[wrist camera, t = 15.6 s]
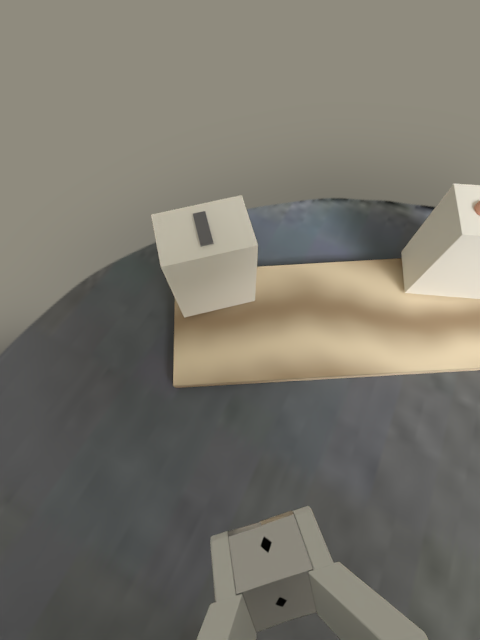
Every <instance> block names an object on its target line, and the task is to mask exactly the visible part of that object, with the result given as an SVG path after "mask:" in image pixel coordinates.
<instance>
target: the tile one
mask: <svg viewBox="0 0 480 640" xmlns="http://www.w3.org/2000/svg"><path fill="white" fill-rule="evenodd" d="M151 218H152V223H153V229H154V234H155V239H156V245H157V250H158V255H159V260H160V266H161V269H162V271H163V273H164V275H165V277H166V280H167V282H168V284H169V286H170V288H171V290H172V293H173V295H174V297H175V299H176V301H177V303H178V305H179V308H180V310H181V312H182V314H183V316H184V318H185V317H189V316H193V315H197V314H202V313H206V312H210V311H214V310H218V309H223V308H227V307H231V306H235V305H239V304H244V303H248V302H252V301H255V293H256V274H257V255H258V244H257V241H256V237H255V234H254V231H253V228H252V225H251V222H250V219H249V216H248V213H247V210H246V206H245V203H244V200H243V197H242V195H240V196H235V197H230V198H226V199H221V200H217V201H212V202H207V203H202V204H198V205H193V206H188V207H184V208H179V209H174V210H169V211H165V212H161V213H156V214H151Z"/></svg>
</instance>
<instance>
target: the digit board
mask: <svg viewBox="0 0 480 640" xmlns="http://www.w3.org/2000/svg"><path fill="white" fill-rule="evenodd" d="M472 370H480V299H472V298H460V297H447V296H435V295H423V294H411V293H405V290H404V278H403V267H402V258H399V259H382V260H364V261H347V262H330V263H312V264H295V265H278V266H260V267H257V274H256V293H255V301H252V302H248V303H244V304H239V305H235V306H231V307H227V308H223V309H218V310H214V311H210V312H206V313H202V314H197V315H193V316H189V317H185V318H184V316H183V314H182V312H181V310H180V308H179V305H178V303H177V301H176V299H175V316H174V369H173V386H174V387H175V388H182V387H199V386H216V385H233V384H250V383H268V382H285V381H302V380H319V379H336V378H353V377H370V376H387V375H404V374H421V373H438V372H455V371H472Z"/></svg>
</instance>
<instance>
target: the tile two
mask: <svg viewBox="0 0 480 640" xmlns="http://www.w3.org/2000/svg"><path fill="white" fill-rule="evenodd" d="M401 255H402V267H403V278H404V290H405V293H411V294H423V295H435V296H447V297H460V298H472V299H480V185H467V184H466V185H465V184H453V185H452V187H451V188H450V189H449V190H448V192H447V193H446V194H445V196H444V197H443V198H442V200H441V201H440V202H439V204H438V205H437V206H436V207H435V209H434V210H433V211H432V213H431V214H430V215H429V217H428V218H427V219H426V220H425V222H424V223H423V224H422V226H421V227H420V228H419V230H418V231H417V232H416V233H415V235H414V236H413V237H412V239H411V240H410V241H409V243H408V244H407V245H406V246H405V248H404V249H403V250H402V252H401Z"/></svg>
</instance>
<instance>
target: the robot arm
mask: <svg viewBox="0 0 480 640" xmlns="http://www.w3.org/2000/svg"><path fill="white" fill-rule="evenodd" d="M210 546H211V557H212V569H213V580H214V591H215V602H214V603H212V604H210V606H209V608H208V611H207V614H206V616H205V619H204V621H203V624H202V627H201V629H200V632H199V634H198V637H197V640H256V637H257V634H256V632H259V631H262V630H264V629H267V628H270V627H272V626H275V625H278V624H280V623H283V622H286V621H289V620H292V619H295V618H299V617H302V616H305V615H309V614H312V613H315V612H317V614H318V615H319V616H320V618H321V619H322V620H323V621H324V622H325V623H326V624H327V625H328V626H329V628H330V629H331V630H332V631H333V632H334V633H335V634H336V635H337V636H338V638H339V639H340V640H428V638H427V636H426V634H425V632H424V631H422V630H421V629H420V628H419V627H417V626H416V625H415V624H414V623H413V622H411V621H410V620H409V619H408V618H407V617H405V616H404V615H403V614H402V613H400V612H399V611H398V610H397V609H396V608H394V607H393V606H392V605H391V604H390V603H388V602H387V601H386V600H385V599H383V598H382V597H381V596H380V595H379V594H377V593H376V592H375V591H374V590H373V589H371V588H370V587H369V586H368V585H366V584H365V583H364V582H363V581H362V580H360V579H359V578H358V577H357V576H356V575H354V574H353V573H352V572H351V571H349V570H348V569H347V568H346V567H345V566H343V565H342V564H341V563H340V562H336V563H333V560H332V558H331V555H330V553H329V551H328V548H327V546H326V543H325V541H324V538H323V536H322V534H321V531H320V529H319V526H318V524H317V522H316V519H315V517H314V514H313V512H312V509H311V508H310V507H309V506H306V507H303V508H300V509H297V510H294V511H293V512H292V511H289V512H286V513H283V514H280V515H277V516H274V517H271V518H268V519H265V520H262V521H261V522H257V523H254V524H251V525H247V526H244V527H241V528H237V529H234V530H231V531H227V532H223V533H220V534H217V535H214V536H211V541H210Z"/></svg>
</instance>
